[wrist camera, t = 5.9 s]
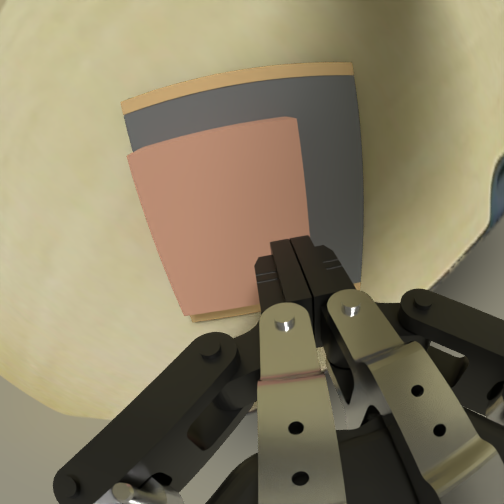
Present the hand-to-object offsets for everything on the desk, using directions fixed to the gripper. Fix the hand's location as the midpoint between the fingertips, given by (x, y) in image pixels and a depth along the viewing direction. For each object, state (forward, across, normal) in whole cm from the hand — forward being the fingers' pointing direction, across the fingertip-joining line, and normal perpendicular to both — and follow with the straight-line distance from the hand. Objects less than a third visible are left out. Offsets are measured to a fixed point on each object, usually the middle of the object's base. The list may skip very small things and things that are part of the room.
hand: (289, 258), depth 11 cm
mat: (+7, 0, 0) cm, 7 cm away
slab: (+5, -2, 0) cm, 5 cm away
